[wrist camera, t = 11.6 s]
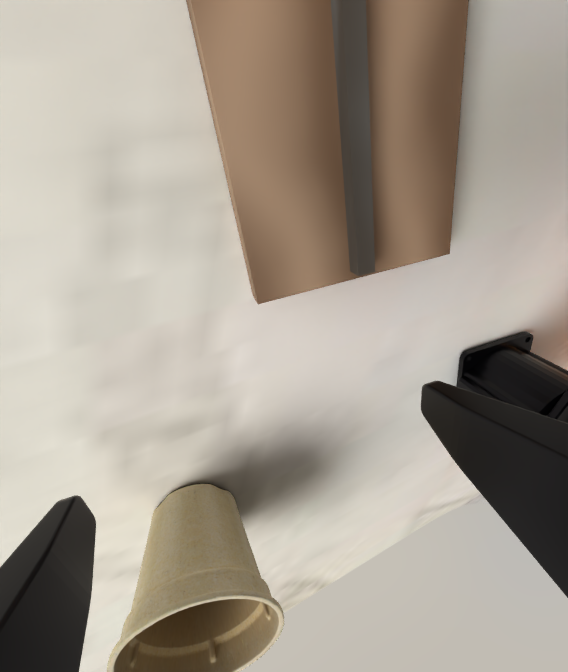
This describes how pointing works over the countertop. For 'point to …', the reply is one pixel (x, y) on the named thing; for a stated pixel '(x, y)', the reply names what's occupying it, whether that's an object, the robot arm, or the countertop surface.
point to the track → (334, 132)
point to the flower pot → (197, 592)
